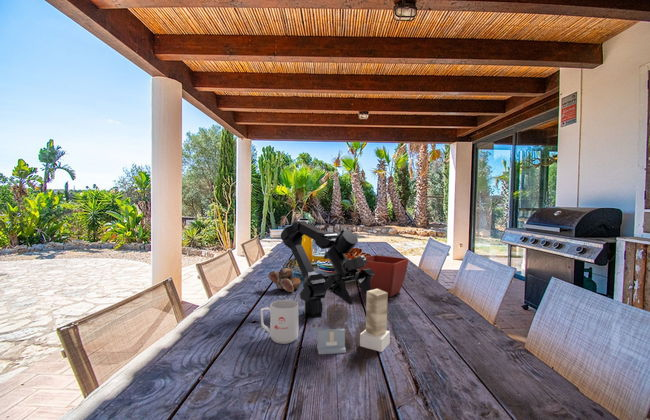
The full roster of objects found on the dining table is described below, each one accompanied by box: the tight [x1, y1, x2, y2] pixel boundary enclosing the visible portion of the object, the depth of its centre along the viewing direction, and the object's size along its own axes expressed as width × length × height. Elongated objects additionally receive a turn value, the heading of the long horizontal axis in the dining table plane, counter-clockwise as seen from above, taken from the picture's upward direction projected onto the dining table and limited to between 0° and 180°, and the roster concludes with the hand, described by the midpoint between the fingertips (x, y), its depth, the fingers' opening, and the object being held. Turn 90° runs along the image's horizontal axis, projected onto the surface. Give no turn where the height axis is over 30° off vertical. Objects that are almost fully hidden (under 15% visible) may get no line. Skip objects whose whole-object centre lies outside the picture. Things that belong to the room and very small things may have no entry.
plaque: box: [316, 328, 347, 355], centre depth 89 cm, size 8×4×6 cm, turn 99°
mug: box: [260, 299, 300, 345], centre depth 96 cm, size 12×9×11 cm
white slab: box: [359, 328, 391, 353], centre depth 93 cm, size 7×7×4 cm
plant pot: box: [358, 254, 409, 298], centre depth 148 cm, size 19×19×17 cm
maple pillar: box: [365, 289, 389, 336], centre depth 93 cm, size 4×4×12 cm
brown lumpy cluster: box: [267, 267, 302, 293], centre depth 152 cm, size 13×16×15 cm
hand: (362, 301), depth 97 cm, fingers open, 9 cm apart
